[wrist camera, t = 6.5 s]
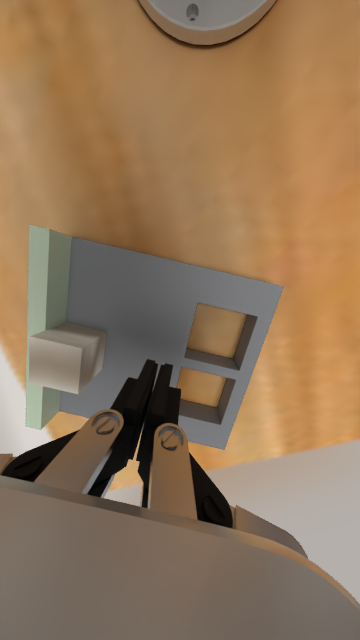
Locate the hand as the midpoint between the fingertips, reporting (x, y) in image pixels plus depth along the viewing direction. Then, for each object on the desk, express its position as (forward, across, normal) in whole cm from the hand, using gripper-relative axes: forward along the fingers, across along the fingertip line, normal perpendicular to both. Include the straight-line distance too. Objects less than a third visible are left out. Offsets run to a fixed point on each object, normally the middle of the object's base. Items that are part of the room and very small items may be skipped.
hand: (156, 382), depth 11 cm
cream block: (+6, +8, +2) cm, 10 cm away
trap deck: (+8, +1, +2) cm, 9 cm away
